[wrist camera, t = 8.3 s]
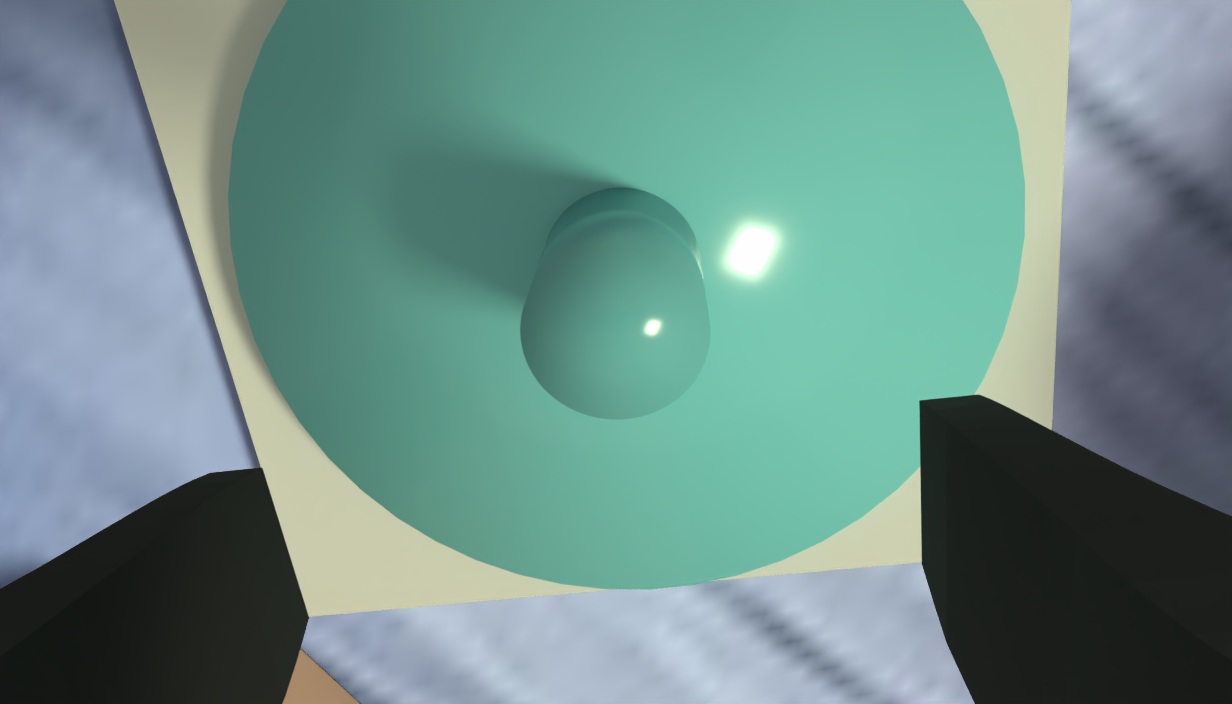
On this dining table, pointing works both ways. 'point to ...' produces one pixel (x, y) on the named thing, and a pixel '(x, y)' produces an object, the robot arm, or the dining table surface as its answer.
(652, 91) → the lid
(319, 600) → the mat
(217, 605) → the robot arm
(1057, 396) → the dining table surface
